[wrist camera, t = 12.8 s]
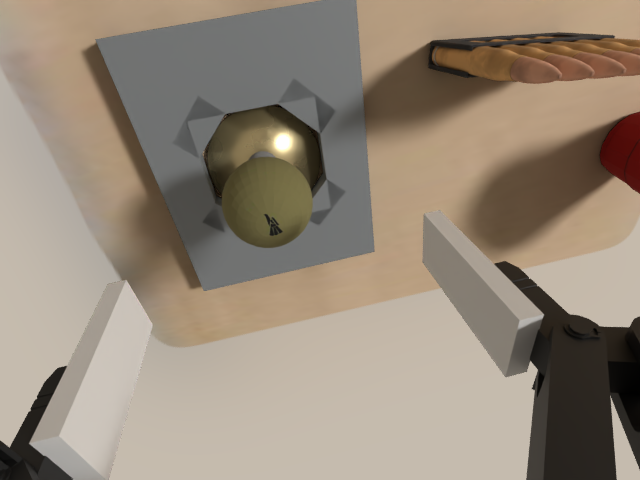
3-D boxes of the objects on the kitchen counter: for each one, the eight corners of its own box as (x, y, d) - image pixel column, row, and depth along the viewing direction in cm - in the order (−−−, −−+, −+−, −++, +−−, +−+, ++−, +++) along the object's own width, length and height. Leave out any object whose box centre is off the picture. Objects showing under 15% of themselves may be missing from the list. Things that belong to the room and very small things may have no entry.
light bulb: (312, 163, 29) (339, 224, 20) (264, 207, 30) (271, 281, 22) (262, 111, 26) (270, 157, 18) (211, 162, 27) (196, 228, 19)
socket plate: (103, 38, 22) (95, 39, 21) (349, -5, 24) (355, -6, 22) (205, 280, 33) (203, 291, 32) (369, 243, 34) (374, 251, 33)
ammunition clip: (427, 68, 27) (536, 99, 17) (430, 40, 26) (548, 55, 16) (553, 59, 28) (722, 82, 18) (560, 32, 27) (743, 41, 17)
